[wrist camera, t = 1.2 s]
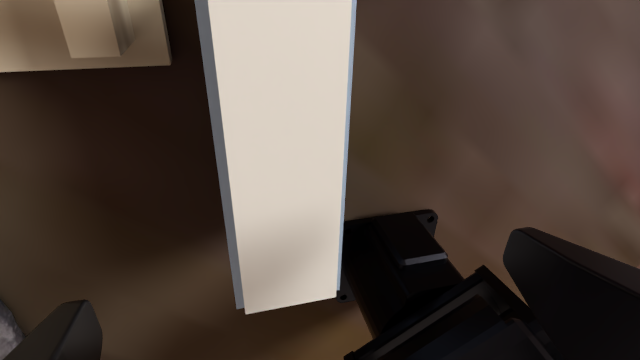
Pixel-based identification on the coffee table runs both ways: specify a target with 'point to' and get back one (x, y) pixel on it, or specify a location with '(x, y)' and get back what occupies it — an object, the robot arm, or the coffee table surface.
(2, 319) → the geode
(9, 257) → the coffee table surface
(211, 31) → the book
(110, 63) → the rack
